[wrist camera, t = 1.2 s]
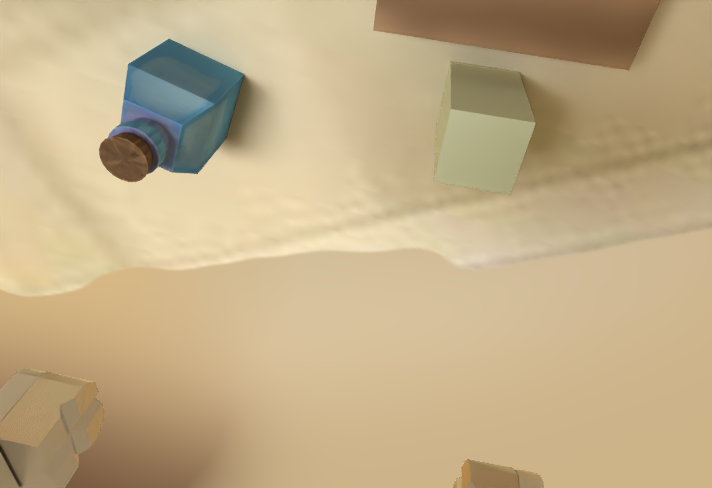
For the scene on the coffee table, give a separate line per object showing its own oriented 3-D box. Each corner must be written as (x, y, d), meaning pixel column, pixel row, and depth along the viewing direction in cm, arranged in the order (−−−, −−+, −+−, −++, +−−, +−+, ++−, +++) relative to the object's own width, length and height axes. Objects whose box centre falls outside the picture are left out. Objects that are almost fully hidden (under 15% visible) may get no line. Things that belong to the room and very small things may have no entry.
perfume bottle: (244, 74, 39) (179, 140, 30) (225, 138, 43) (163, 215, 34) (168, 38, 38) (77, 95, 29) (157, 107, 42) (73, 177, 33)
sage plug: (450, 61, 36) (450, 109, 29) (519, 71, 36) (535, 122, 29) (436, 124, 39) (433, 181, 32) (499, 135, 39) (510, 194, 32)
